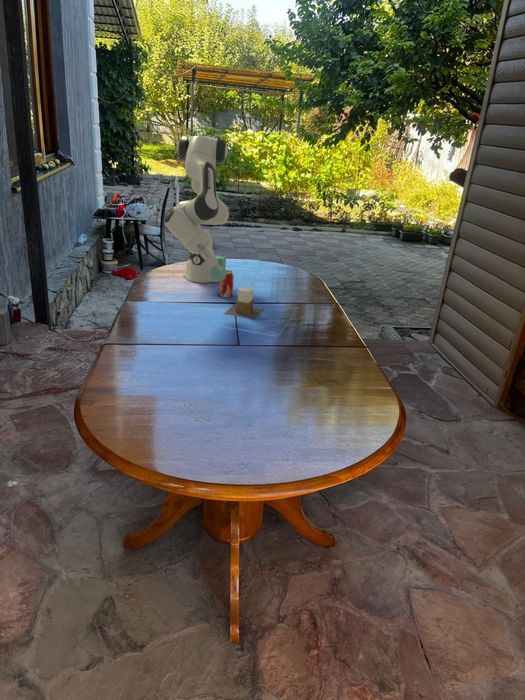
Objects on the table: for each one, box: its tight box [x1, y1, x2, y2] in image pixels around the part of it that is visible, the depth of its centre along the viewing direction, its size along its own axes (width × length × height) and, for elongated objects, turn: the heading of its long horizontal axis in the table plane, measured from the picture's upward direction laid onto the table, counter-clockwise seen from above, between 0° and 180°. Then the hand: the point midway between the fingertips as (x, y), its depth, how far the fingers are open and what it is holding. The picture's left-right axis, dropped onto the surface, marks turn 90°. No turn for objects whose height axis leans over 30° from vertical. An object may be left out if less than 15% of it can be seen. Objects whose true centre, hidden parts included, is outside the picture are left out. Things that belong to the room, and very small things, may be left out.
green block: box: [211, 255, 227, 281], centre depth 212 cm, size 4×4×9 cm
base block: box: [235, 299, 255, 315], centre depth 221 cm, size 6×6×5 cm
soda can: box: [217, 269, 234, 299], centre depth 239 cm, size 7×7×12 cm
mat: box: [223, 303, 265, 320], centre depth 222 cm, size 14×14×1 cm
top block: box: [237, 286, 254, 303], centre depth 219 cm, size 5×5×5 cm
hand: (220, 267), depth 212 cm, fingers closed on green block, 6 cm apart
